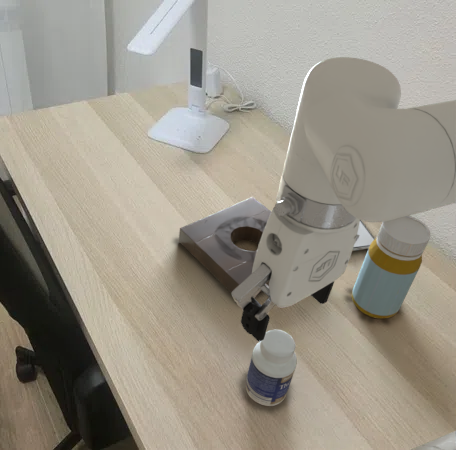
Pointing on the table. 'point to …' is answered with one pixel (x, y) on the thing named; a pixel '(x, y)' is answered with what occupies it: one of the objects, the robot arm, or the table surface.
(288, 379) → the pill bottle
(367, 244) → the smartphone
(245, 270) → the socket board
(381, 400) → the table surface
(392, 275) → the bottle
